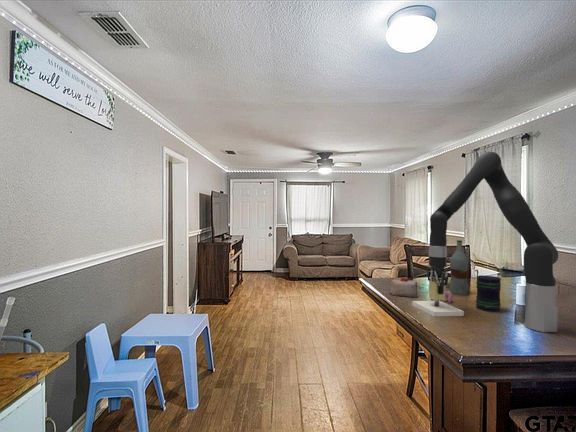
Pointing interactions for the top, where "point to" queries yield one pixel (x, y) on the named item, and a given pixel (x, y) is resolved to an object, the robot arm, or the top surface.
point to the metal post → (436, 303)
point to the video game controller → (448, 296)
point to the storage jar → (488, 293)
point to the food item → (404, 287)
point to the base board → (437, 308)
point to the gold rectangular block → (435, 290)
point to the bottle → (459, 271)
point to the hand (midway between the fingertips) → (436, 292)
